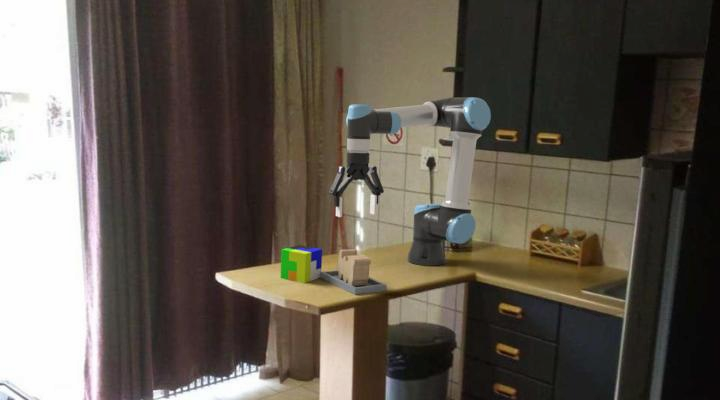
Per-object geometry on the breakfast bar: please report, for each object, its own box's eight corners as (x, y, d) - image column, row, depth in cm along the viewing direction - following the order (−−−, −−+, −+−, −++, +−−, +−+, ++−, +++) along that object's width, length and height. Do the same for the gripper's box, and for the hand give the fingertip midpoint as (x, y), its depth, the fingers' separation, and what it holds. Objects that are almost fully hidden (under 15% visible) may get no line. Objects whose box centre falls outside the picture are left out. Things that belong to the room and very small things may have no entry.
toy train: (351, 275, 222) (352, 247, 221) (369, 288, 207) (371, 258, 205) (336, 276, 220) (337, 248, 219) (353, 289, 205) (355, 259, 203)
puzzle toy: (321, 277, 221) (322, 249, 219) (304, 283, 212) (305, 253, 211) (297, 272, 226) (298, 245, 224) (280, 278, 217) (281, 249, 216)
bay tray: (320, 277, 220) (320, 271, 220) (349, 274, 226) (349, 268, 226) (354, 294, 201) (355, 288, 200) (386, 290, 207) (386, 284, 207)
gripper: (382, 150, 219) (380, 211, 222) (319, 151, 206) (318, 215, 208) (395, 152, 213) (393, 214, 216) (331, 152, 199) (329, 219, 202)
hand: (356, 215), depth 212 cm, fingers open, 13 cm apart
